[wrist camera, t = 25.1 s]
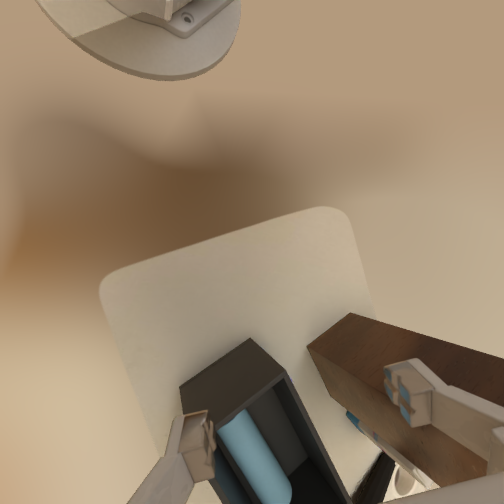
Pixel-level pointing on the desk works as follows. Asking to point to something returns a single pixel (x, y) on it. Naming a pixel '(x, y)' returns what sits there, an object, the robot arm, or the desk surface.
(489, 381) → the stand
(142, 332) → the desk surface
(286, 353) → the desk surface
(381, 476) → the microphone
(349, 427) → the desk surface
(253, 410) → the bin
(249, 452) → the bottle
